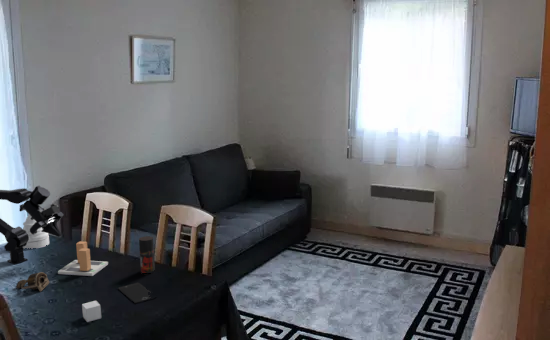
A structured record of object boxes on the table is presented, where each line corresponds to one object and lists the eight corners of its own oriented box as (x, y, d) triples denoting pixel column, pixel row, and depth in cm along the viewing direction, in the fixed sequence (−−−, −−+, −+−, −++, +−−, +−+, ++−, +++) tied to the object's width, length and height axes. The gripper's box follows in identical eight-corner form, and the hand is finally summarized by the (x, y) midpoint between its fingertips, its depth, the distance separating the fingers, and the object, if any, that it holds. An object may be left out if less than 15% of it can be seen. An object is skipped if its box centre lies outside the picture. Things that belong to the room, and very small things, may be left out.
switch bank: (58, 273, 234) (57, 270, 233) (75, 262, 247) (75, 259, 247) (92, 276, 231) (92, 273, 231) (108, 264, 244) (107, 261, 244)
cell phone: (135, 305, 203) (135, 302, 203) (117, 289, 217) (117, 287, 217) (157, 298, 208) (157, 296, 208) (138, 284, 223) (138, 282, 222)
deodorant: (138, 272, 234) (135, 239, 231) (147, 268, 239) (145, 235, 236) (148, 275, 231) (146, 241, 228) (157, 270, 236) (155, 237, 234)
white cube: (96, 313, 196) (96, 300, 195) (101, 318, 192) (100, 305, 191) (83, 317, 193) (81, 304, 192) (87, 322, 189) (86, 308, 188)
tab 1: (77, 262, 242) (76, 243, 240) (81, 260, 245) (79, 241, 243) (84, 263, 241) (83, 243, 240) (88, 260, 244) (86, 241, 243)
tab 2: (80, 270, 233) (78, 250, 231) (83, 268, 236) (82, 248, 234) (87, 271, 232) (85, 251, 230) (91, 268, 235) (89, 248, 233)
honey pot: (54, 243, 274) (51, 208, 271) (31, 250, 264) (28, 214, 260) (39, 239, 281) (35, 205, 278) (16, 246, 270) (12, 211, 267)
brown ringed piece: (27, 284, 210) (50, 270, 217) (9, 274, 216) (32, 261, 224) (32, 299, 212) (54, 285, 220) (14, 288, 219) (36, 276, 227)
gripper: (33, 204, 232) (59, 230, 232) (58, 194, 250) (82, 218, 250) (18, 221, 234) (44, 247, 235) (44, 210, 252) (67, 234, 253)
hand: (60, 236), depth 243 cm, fingers closed
